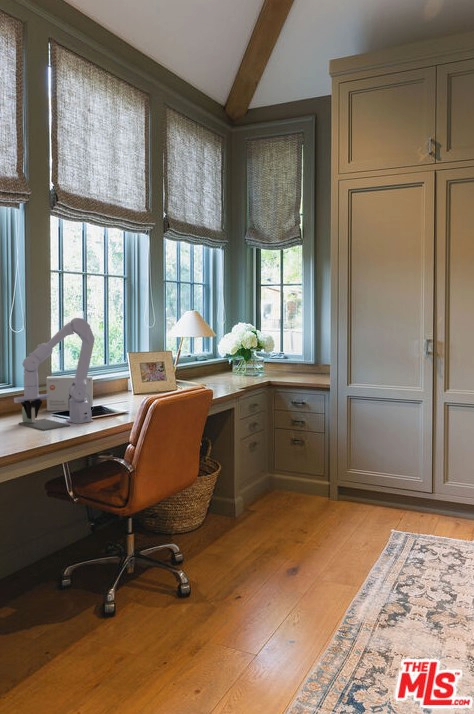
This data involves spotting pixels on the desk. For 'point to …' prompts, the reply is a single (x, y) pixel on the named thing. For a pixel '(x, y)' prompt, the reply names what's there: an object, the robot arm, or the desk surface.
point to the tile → (26, 416)
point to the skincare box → (64, 392)
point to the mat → (44, 424)
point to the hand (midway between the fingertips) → (32, 418)
